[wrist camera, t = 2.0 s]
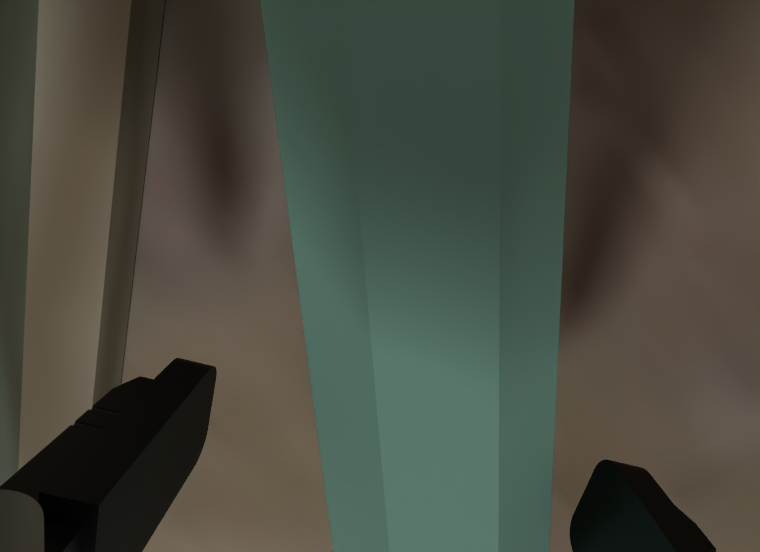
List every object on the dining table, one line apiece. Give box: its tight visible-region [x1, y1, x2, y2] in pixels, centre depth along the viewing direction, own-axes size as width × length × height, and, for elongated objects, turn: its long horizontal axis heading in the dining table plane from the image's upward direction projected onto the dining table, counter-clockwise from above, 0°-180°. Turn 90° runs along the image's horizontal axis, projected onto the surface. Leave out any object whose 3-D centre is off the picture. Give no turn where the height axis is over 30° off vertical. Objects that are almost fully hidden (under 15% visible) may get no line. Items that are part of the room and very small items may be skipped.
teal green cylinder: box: [260, 0, 575, 552], centre depth 10 cm, size 6×6×25 cm
